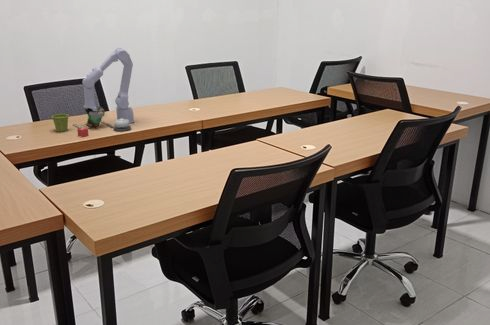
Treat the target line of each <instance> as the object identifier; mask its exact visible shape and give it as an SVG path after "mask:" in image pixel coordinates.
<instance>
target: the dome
mask: <svg viewBox="0 0 490 325" xmlns="http://www.w3.org/2000/svg"><path fill="white" fill-rule="evenodd" d="M127 126H130V123H129V120H128V119H117V118H116V119H115V120H114V127H127Z"/></svg>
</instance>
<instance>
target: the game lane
mask: <svg viewBox="0 0 490 325" xmlns="http://www.w3.org/2000/svg"><path fill="white" fill-rule="evenodd" d="M100 124H102V125H105V126H107V127H108V128H111V129H113V127H115V125H114V126H113V125H112V124H109V122H106V121H105V120H103V119H101V122H100ZM72 126H74V127H76V129H79V128H83V127H81V126H80V125H79V124H77V123H73V124H72Z"/></svg>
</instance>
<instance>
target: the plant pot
mask: <svg viewBox="0 0 490 325" xmlns="http://www.w3.org/2000/svg"><path fill="white" fill-rule="evenodd" d="M69 116H70V115H69V114H68V113H57V114H53V115H51V116H50V117H51V118H52V121H53V124H54V128H55V130H56V132H60V133H61V132H67V131H68V126H69V125H68V122H69Z"/></svg>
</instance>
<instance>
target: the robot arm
mask: <svg viewBox="0 0 490 325" xmlns="http://www.w3.org/2000/svg"><path fill="white" fill-rule="evenodd" d="M130 55H131V54H129V52H128V51H127V50H125V49H123V48H121V47H117V48H115V50H114V51H112V52H111V53H110V54H109V55H108V56H107V57H106V58H105V60H104V61H103V62H102V63H101V64H100V65H99V67H95V68H94V67H93V68H92V69H91V70H92V71H91V72H90V73H88V74H86V77H84V78H83V79H82V82H81V83H82V86H83V96H84V103H83V104H84V105H83V108H84V110H85V112H86V114H87V116H88V117H89V112H90V111H91V112H92V111H97V109H98V107H97V106H96V97H95V88H94V87H95V83H97V81H99V80H100V79H101V78H102V77H103V75H104V71H105V70H107V69H108V68H109V66H110V65H112V64H113V63H116V62H119V61H120V62H121V64H122V65H123V68H122V75H121V81H120V86H119V92H118V93H117V97H115V99H114V100H115V101H114V102H115V105H116V107H115V110H116V120H117V119H128V120H129V124H131V123H135V120H134V119H135V118H134V117H135V116H134V110H133V108H132V107H131V106H129V104H130V103H129V88H130V84H131V77H132V72H133V67H134V66H133V65H134V64H133V61H132V58H131V56H130Z"/></svg>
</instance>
